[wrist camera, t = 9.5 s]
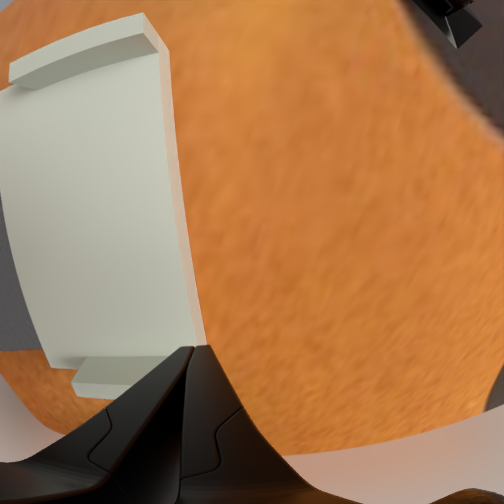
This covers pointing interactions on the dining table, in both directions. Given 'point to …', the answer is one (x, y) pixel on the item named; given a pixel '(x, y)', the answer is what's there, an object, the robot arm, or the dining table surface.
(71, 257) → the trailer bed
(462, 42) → the black blocky piece
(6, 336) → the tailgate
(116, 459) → the robot arm
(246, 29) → the dining table surface
